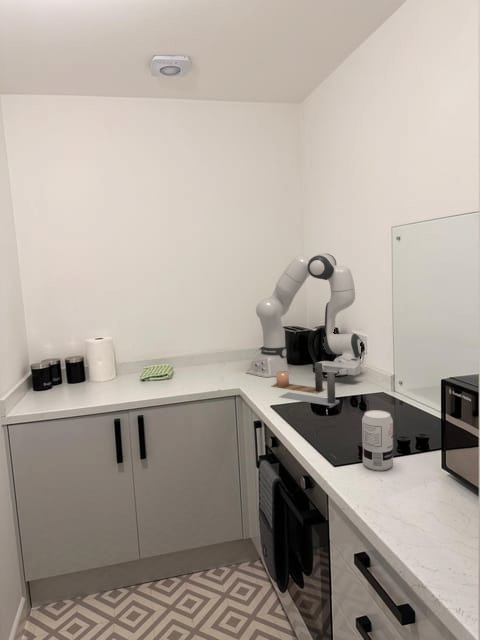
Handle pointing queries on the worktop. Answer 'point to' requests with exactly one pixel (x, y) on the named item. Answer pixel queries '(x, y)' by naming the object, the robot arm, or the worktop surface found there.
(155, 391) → the worktop surface
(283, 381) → the tan rounded blob
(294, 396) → the slate-grey strip
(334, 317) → the robot arm
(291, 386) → the walnut strip
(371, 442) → the supplement can
